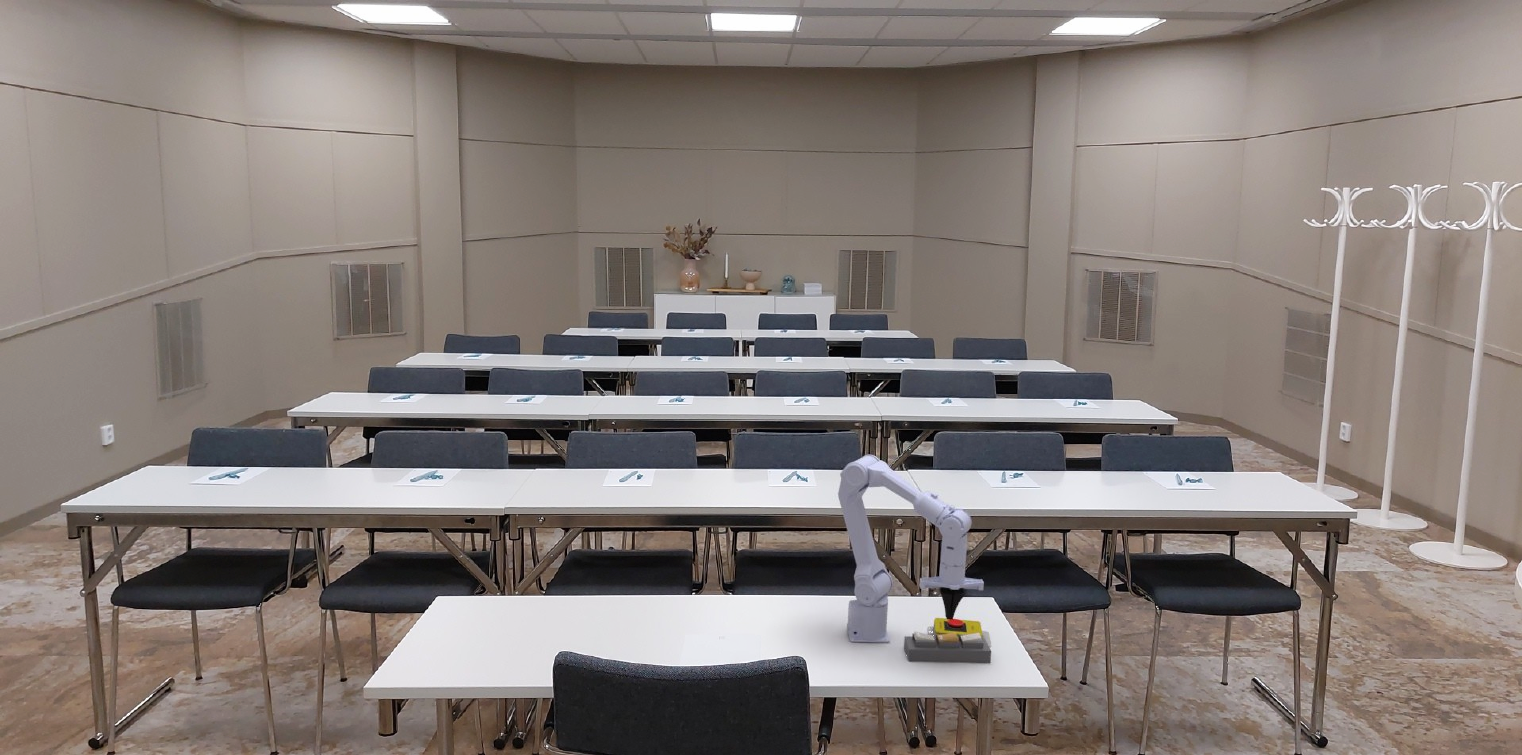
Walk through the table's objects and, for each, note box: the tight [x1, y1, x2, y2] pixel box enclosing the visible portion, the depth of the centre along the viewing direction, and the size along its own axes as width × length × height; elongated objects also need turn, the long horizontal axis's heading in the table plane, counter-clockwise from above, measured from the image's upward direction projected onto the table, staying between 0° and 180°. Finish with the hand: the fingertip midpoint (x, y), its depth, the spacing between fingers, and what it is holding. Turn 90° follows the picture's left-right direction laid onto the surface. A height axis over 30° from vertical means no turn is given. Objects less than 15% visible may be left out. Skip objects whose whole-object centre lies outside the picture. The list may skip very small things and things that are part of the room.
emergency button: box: [927, 617, 992, 648], centre depth 260 cm, size 9×4×15 cm
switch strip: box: [903, 632, 992, 664], centre depth 249 cm, size 19×7×4 cm, turn 91°
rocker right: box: [960, 633, 982, 642], centre depth 249 cm, size 4×3×1 cm, turn 91°
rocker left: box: [913, 630, 935, 641], centre depth 249 cm, size 4×3×1 cm, turn 92°
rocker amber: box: [937, 632, 958, 642], centre depth 249 cm, size 4×3×1 cm, turn 91°
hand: (949, 617), depth 248 cm, fingers closed
